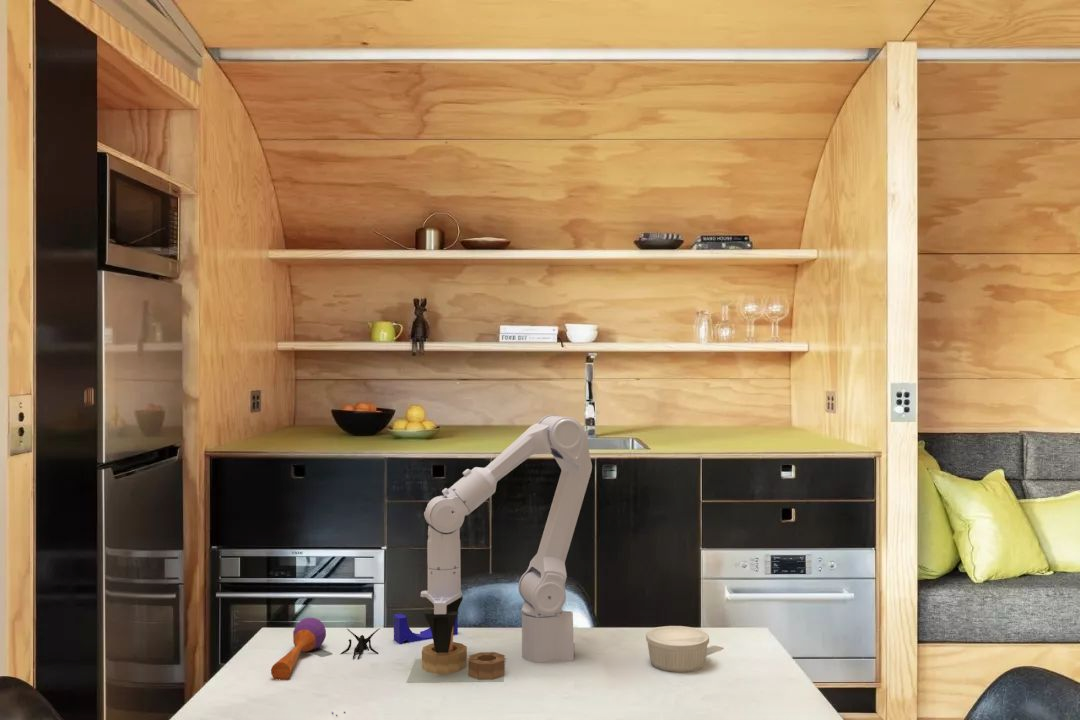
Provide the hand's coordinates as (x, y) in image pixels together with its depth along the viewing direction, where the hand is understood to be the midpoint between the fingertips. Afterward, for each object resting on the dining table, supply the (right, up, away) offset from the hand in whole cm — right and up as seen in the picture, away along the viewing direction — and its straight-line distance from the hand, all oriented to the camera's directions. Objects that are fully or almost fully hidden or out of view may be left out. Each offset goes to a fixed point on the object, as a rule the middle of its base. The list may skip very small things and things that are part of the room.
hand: (444, 645), depth 152 cm
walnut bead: (+8, -4, -4) cm, 9 cm away
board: (+3, -5, -2) cm, 6 cm away
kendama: (-27, -5, +6) cm, 28 cm away
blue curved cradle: (-6, -5, +17) cm, 19 cm away
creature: (-16, -5, +7) cm, 18 cm away
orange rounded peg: (0, -4, 0) cm, 4 cm away
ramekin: (+41, -5, +3) cm, 41 cm away
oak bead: (0, -4, 0) cm, 4 cm away
